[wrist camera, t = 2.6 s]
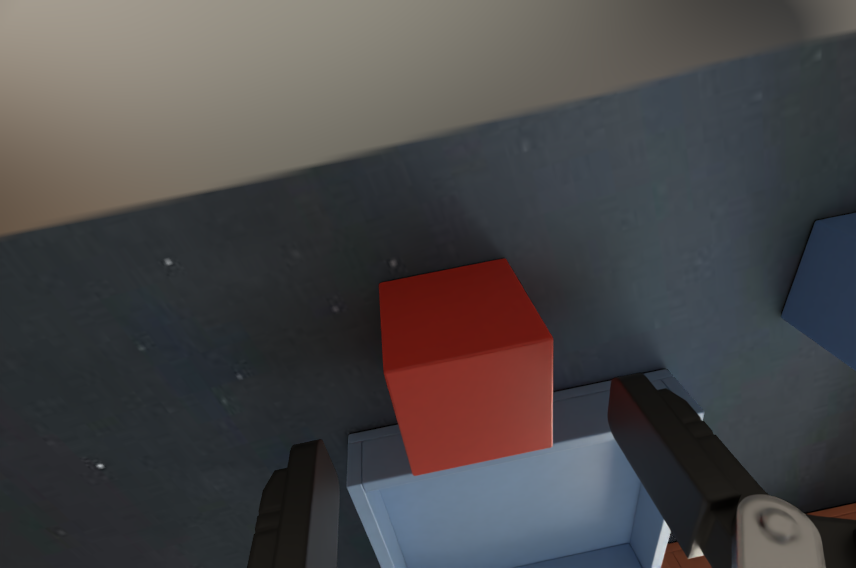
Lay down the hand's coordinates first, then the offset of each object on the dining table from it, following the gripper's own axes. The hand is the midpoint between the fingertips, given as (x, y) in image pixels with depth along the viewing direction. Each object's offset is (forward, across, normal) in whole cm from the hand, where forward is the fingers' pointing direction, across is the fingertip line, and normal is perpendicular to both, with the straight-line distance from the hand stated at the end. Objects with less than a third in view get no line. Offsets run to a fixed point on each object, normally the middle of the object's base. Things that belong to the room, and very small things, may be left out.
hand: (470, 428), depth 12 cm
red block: (+5, 0, 0) cm, 5 cm away
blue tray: (+5, -2, +12) cm, 13 cm away
